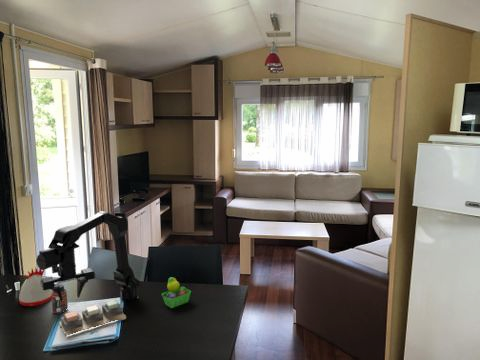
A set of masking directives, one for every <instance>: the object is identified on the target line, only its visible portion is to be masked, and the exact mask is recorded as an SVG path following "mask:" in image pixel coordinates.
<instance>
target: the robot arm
mask: <svg viewBox="0 0 480 360" xmlns="http://www.w3.org/2000/svg"><path fill="white" fill-rule="evenodd" d="M128 221H129V220H128V219H127V218H126V217H122V216H117V215H114V214H111V213H110V212H108V211H102V210H100V211H98V212H96V213H95V214H93V215H91V216H89V217H87V218H86V219H83V220H82V221H80V222H78V223H76V224H74V225H68V226H65V227H60V228H58V229H57V230H55V232H54V236H53V238H52V240H51V242H50V243H49V245H48V248H47V249H44V250H43V249H42V250H40V251H39V252H38V253H39V254H38V255H37V256H36V259H35V261H36V265H37V267H38V269H41V271H43V270H44V271H45V270H47V269H51V273H52V274H56V273H57V275H58V278H53V276H49V277H48V276H47V277H45V278H43V279H41V281H40V284H41V287H42V289H43V290H49V289H51V290H52V291H54V290H55V291H56V293H57V295H58V297H59V299H60V301H61V302H62V294H61V289H60V286H59V284H62V283H65V282H70V281H74V280H76V282H77V283H76V285H77V286H76V296H77V298H80V296H81V294H82V291H83V289H84V287H85V285H86V284H87V283H89V280H93V279H96V273H95V271H94V270H93V269H92V268H91V267H87V268H83V269H81V270H80V272H79V273H77V268H76V267H77V264H76V257H75V256H76V255H75V253H76V252H75V249H78V248H80V245H79V244H77V243H76V242H77V241H79V240H80V238H82V235H84V234H86V233H87V232H89V231H91V230H93V229H95V228H96V227H98V226H100V225H102V224H106V225H107V227H108V231H109V232H110V234H111V235H112V238H113V244H114V250H115V257H116V265H117V267H116V269H115V270H114V271H113V272H112V273H113V280H115V282H116V283H117V285H118V286H119V287H120V290H119V293H120V294H119V296H120V299H121V301H123V300H124V301H123V302H124V303H129V302H132V301H136V300H139V298H140V297H139V296H138V289H137V288H138V287H139V286H140V283H141V282H140V279H137V278H136V277H135V273H134V270H133V268H132V267H131V266H130V263H129V255H128V247H127V239H126V234H127V232H128V230H129V229H128V228H129V225H128V224H129V223H128Z"/></svg>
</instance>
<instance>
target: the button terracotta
mask: <svg viewBox="0 0 480 360" xmlns="http://www.w3.org/2000/svg"><path fill="white" fill-rule="evenodd" d="M77 313H78V312H77V311H76V310H74V311H70V312H67V313H64V316H65V321H66V323H67V322H71V321H74V320H77V319H78V314H77Z"/></svg>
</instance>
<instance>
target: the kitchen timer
mask: <svg viewBox="0 0 480 360" xmlns="http://www.w3.org/2000/svg"><path fill="white" fill-rule="evenodd" d="M27 273H28V275H26V274H24V277H25V278H26V279H25V281H24V282H23V284H22V285H21V287H20V291H19V295H18V300H19V304H20V305H21V306H25V307H34V306H38V305H39V306H40V305H43V304H45V303H47V302H49V301H52V296H51V293H52V290H51V289H49V290H43V289H42V287H41V284H40V281H41V279H43V278H46V277H45V276H43V275H44V273H45V270H41V269H40V268H38V269H37V267H35V269H33V268H31V272H30V271H29V270H28V271H27Z"/></svg>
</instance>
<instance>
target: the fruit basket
mask: <svg viewBox="0 0 480 360" xmlns="http://www.w3.org/2000/svg"><path fill="white" fill-rule="evenodd" d="M166 286H167V287H166V288H167V291H166V292H165V291H164V292H162V293H161V297H162V298H163V301H164V305H166V306H167V307H168V308H170V309H173V308H177V307H179V306H181V305H182V306H183V305H184V304H187V303H189V300H190V297H191V294H192V291H191V290H190V289H187V288H186V287H185V286H181V285H180V282H179V281H177V279H176V278H175V277H172V276H171V277H169V278H168V280H167V285H166Z"/></svg>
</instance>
